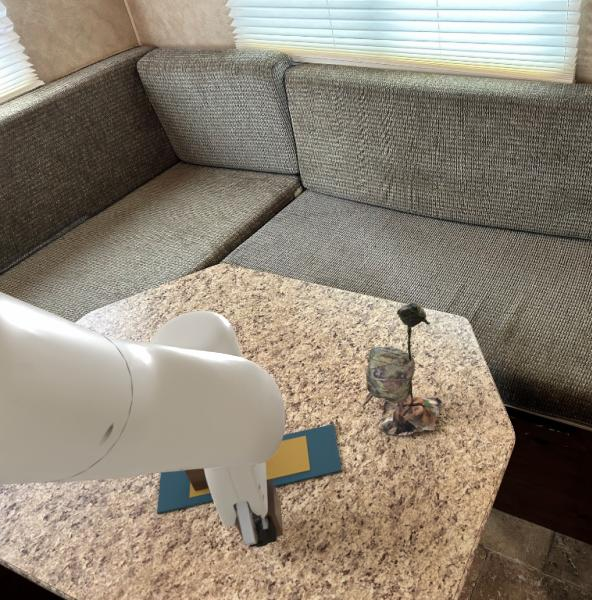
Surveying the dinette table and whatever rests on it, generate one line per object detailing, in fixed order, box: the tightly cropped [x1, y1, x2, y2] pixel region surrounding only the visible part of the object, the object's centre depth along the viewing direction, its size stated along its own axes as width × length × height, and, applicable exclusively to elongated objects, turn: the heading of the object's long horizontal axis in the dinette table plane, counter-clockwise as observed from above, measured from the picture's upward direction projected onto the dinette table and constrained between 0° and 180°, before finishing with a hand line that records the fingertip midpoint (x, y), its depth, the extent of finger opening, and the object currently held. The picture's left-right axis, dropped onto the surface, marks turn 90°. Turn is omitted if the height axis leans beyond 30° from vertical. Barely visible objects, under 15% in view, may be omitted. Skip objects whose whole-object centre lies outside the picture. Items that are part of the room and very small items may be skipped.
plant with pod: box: [361, 301, 443, 437], centre depth 81 cm, size 8×11×20 cm
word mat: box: [156, 423, 343, 515], centre depth 82 cm, size 8×24×1 cm, turn 102°
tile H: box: [185, 468, 209, 491], centre depth 80 cm, size 4×4×5 cm
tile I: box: [234, 481, 284, 541], centre depth 71 cm, size 4×4×5 cm
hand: (262, 521), depth 72 cm, fingers closed on tile I, 4 cm apart
